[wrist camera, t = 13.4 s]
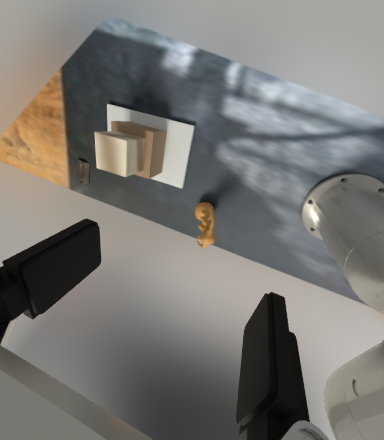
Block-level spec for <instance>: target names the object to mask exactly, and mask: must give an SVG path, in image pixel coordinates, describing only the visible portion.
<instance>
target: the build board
mask: <svg viewBox="0 0 384 440" xmlns="http://www.w3.org/2000/svg"><path fill="white" fill-rule="evenodd" d="M107 119H108V131H119V132H123V133H127V134H131V135H134V136H138V137H142V138H146V142H145V157H144V170H142V171H140V172H138V173H135V175H138V176H141V177H144V178H148V179H150V178H151V179H154V180H157V181H160V182H163V183H167V184H170V185H173V186H176V187H179V188H183V187H184V182H185V177H186V172H187V167H188V162H189V156H190V151H191V146H192V141H193V136H194V131H195V126H193V125H189V124H185V123H181V122H177V121H173V120H170V119H166V118H162V117H158V116H154V115H150V114H146V113H142V112H138V111H134V110H130V109H127V108H123V107H119V106H115V105H111V104H107Z"/></svg>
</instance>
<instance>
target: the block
mask: <svg viewBox="0 0 384 440" xmlns="http://www.w3.org/2000/svg"><path fill="white" fill-rule="evenodd" d="M77 178H78V181H79V182H80V183H82V184H87V183H89V182H90V181H89V163H88V162H86V161H84V160H82V159H78V171H77Z"/></svg>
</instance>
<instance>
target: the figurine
mask: <svg viewBox="0 0 384 440" xmlns="http://www.w3.org/2000/svg"><path fill="white" fill-rule="evenodd" d="M195 215H196V217H197V218H198V219H199V220H201V221H202V224H199V225H198V227H199V228H200V229H201V231H202V233H201V235H199V236H198V240H199V241H201V242H203V243H204V244H203V245H202V244H199V242H198V241H197V243H198V245H199V246H200V247H202V249H205V247H206V246H207V245H208V244H212V243H214V241H215V235H214V233H213V227H214V224H215V218H214V208H213V206H212V205H211V204H210V203H207V202H202V203H199V204H198V205H197V206H196V208H195ZM211 218H212V222H211V225H210V222H209V221H208V220H210V219H211ZM209 226H210V227H209Z"/></svg>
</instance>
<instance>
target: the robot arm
mask: <svg viewBox="0 0 384 440" xmlns="http://www.w3.org/2000/svg"><path fill="white" fill-rule="evenodd" d="M341 179H343V180H342V181H341ZM379 189H380V190H379ZM309 200H311V201H309ZM301 218H302V221H303V224H304V226H305V228H306V229H307V230H308V232H309V233H311V234H312V235H313V236H315V237H317V238H318V239H321V240H324V242H325V243H326V245H327V247H328V248H329V250H330V252H331V254H332V255H333V257H334V259H335V260H336V262H337V264H338V266H339V267H340V269H341V271H342V272H343V274H344V276H345V278H346V279H347V281H348V282H349V284H350V286H351V287H352V289H353V290H354V292H355V293H356V294H357V295H358V297H359V298H360V299H361V300H362V301H364V302H365V303H366V304H367V305H369V306H370V307H371V308H373V309H375V310H376V311H378V312H380V313H382V314H384V184H383V183H382V182H380V181H379V180H377V179H375V178H373V177H371V176H367V175H363V174H354V173H352V174H342V175H338V176H334V177H332V178H329V179H327V180H325V181H323V182H321V183H320V184H318V185H317V186H316V187H314V188H313V189H312V190H311V191H310V192H309V194H308V195H307V196H306V198H305V200H304V202H303V204H302V208H301ZM311 227H312V228H311ZM100 263H101V249H100V231H99V226H98V224H97V222H94V221H92V220H89V219H84V220H82V221H80V222H78V223H76V224H74V225H72V226H70V227H68V228H66V229H65V230H62V231H60V232H59V233H57V234H55V235H53V236H51V237H49V238H47V239H45V240H43V241H41V242H39V243H37V244H35V245H34V246H32V247H30V248H28V249H26V250H24V251H22V252H20V253H18V254H16V255H14V256H12V257H10V258H9V259H6V260H4V261H3V265H4V266H2V267H0V440H152V439H151V438H149V437H148V436H146V435H145V434H143V433H141V432H140V431H138V430H137V429H135V428H133V427H132V426H130V425H129V424H127V423H125V422H124V421H122V420H121V419H119V418H117V417H116V416H114V415H113V414H111V413H109V412H108V411H106V410H105V409H103V408H101V407H100V406H98V405H96V404H95V403H93V402H92V401H90V400H88V399H87V398H85V397H84V396H82V395H80V394H79V393H77V392H76V391H74V390H72V389H71V388H69V387H67V386H66V385H64V384H62V383H61V382H59V381H58V380H56V379H55V378H53V377H51V376H50V375H48V374H46V373H45V372H43V371H42V370H40V369H38V368H37V367H35V366H33V365H32V364H30V363H29V362H27V361H25V360H23V359H22V358H20V357H18V356H17V355H15V354H14V353H12V352H11V351H9V350H7V349H6V346H7V344H8V342H9V339H10V336H11V334H12V331H13V329H14V326H15V324H16V321H17V318H18V316H19V315H21V314H22V313H24V315H26V316H28V317H29V318H31V319H34V318H35V317H37V316H38V315H39V314H43V313H44V312H46V311H47V310H48V309H49V308H50V307H51V306H53V305H54V304H55V303H56V302H57V301H59V300H60V299H61V298H62V297H63V296H64V295H66V293H68V292H69V291H70V290H71V289H73V288H74V287H75V286H76V285H77V284H79V283H80V282H81V281H82V280H83V279H84V278H86V277H87V276H88V275H89V274H90V273H91V272H93V271H94V270H95V269H96V268H97V267H98V266H99V265H100ZM324 402H325V409H326V414H327V417H328V420H329V423H330V426H331V429H332V431H333V434H334V436H335V438H336V440H384V340H383V342H381V343H380V344H378V345H376V346H374V347H373V348H371V349H369V350H368V351H366V352H364V353H363V354H361V355H359V356H357V357H356V358H354V359H352V360H350V361H349V362H347V363H346V364H344V365H343V366H341V367H340V368H338V369H337V370H336V371H335V372H334V373H333V374H332V375H331V376H330V378H329V379H328V381H327V383H326V387H325V391H324ZM236 421H237V423H238V424H240V435H241V436H243V437H244V438H246V439H247V440H329V439H328V438H327V436H326V435H325V434H324V433H323V432H322V431H321V430H320V429H319V428H318V427H316V426H315V425H314V424H312V423H310V420H309V414H308V408H307V401H306V395H305V389H304V383H303V376H302V370H301V364H300V357H299V351H298V345H297V340H296V336H295V335H294V333H292V332H290V331H289V327H288V319H287V312H286V304H285V298H284V297H282V296H280V295H278V294H275V293H273V292H270V294H265V295H264V296H263V298H262V300H261V301H260V303H259V304H258V306H257V308H256V309H255V311H254V313H253V314H252V316H251V318H250V319H249V321H248V323H247V324H246V326H245V330H244V337H243V348H242V359H241V370H240V380H239V391H238V402H237V413H236Z"/></svg>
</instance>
